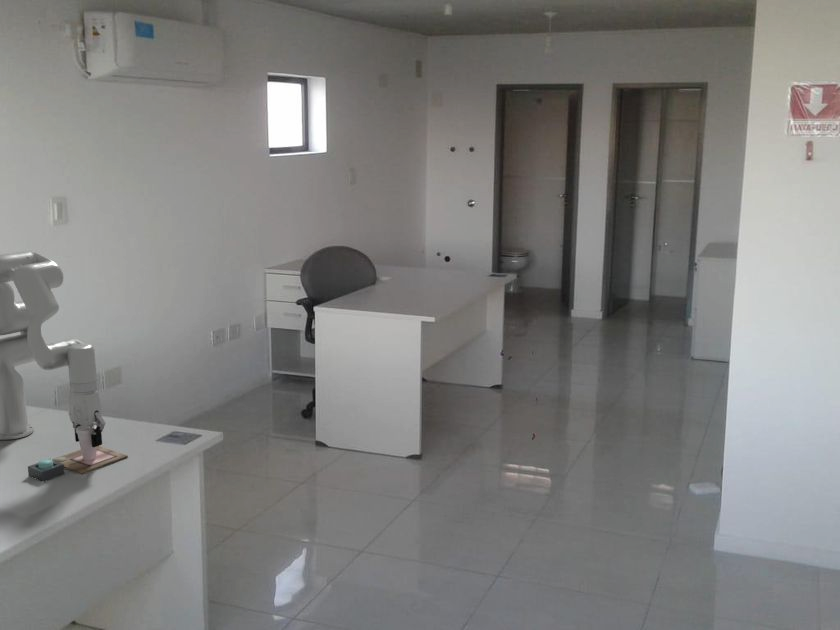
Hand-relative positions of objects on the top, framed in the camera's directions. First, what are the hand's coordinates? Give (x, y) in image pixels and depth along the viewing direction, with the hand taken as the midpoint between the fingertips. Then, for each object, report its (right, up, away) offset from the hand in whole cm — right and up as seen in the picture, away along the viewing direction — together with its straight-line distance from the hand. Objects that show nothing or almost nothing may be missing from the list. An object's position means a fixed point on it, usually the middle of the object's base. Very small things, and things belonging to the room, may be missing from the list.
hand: (88, 442), depth 278 cm
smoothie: (0, -5, +1) cm, 5 cm away
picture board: (-1, -5, +2) cm, 6 cm away
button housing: (-9, -8, -9) cm, 15 cm away
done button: (-9, -8, -9) cm, 15 cm away
